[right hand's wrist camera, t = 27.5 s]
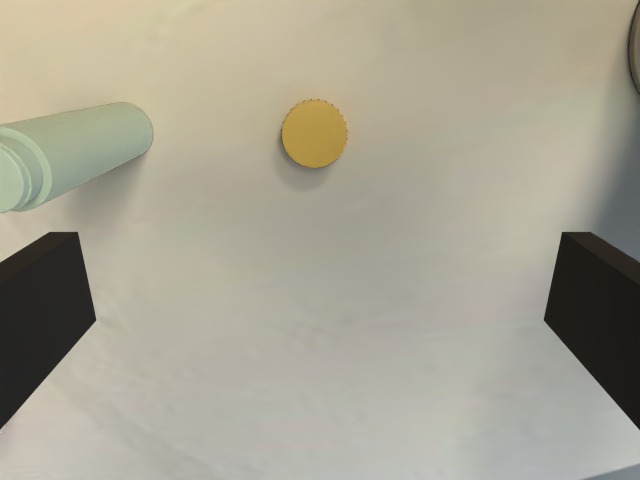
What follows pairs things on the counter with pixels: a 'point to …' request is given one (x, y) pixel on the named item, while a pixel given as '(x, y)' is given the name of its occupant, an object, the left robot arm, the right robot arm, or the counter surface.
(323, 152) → the lid
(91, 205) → the counter surface
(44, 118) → the jar
